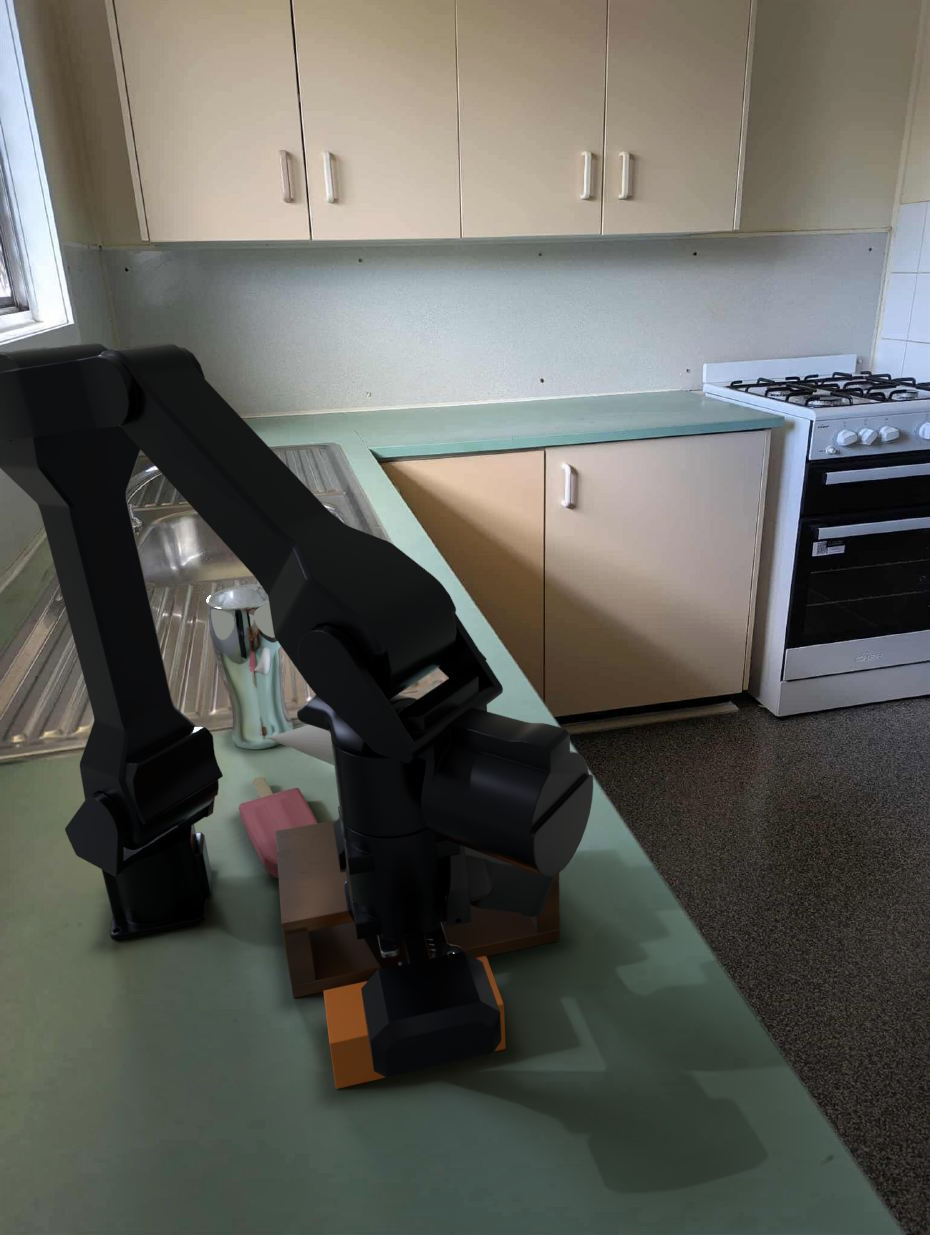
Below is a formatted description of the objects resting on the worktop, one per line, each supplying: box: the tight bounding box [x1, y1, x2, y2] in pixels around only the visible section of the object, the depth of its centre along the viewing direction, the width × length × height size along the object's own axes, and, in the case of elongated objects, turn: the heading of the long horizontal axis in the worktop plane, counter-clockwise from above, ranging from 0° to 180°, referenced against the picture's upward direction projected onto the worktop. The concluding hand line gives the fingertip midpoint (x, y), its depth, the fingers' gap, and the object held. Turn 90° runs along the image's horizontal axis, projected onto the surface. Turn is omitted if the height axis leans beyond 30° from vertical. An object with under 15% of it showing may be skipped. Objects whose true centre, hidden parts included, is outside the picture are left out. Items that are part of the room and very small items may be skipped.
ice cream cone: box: [267, 724, 334, 766], centre depth 80 cm, size 6×6×15 cm
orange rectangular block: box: [323, 956, 507, 1090], centre depth 52 cm, size 10×4×4 cm, turn 103°
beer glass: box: [206, 583, 295, 750], centre depth 86 cm, size 7×7×15 cm
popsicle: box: [238, 776, 319, 880], centre depth 73 cm, size 5×2×15 cm
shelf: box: [275, 819, 561, 999], centre depth 61 cm, size 18×10×6 cm, turn 104°
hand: (416, 1028), depth 52 cm, fingers open, 5 cm apart
